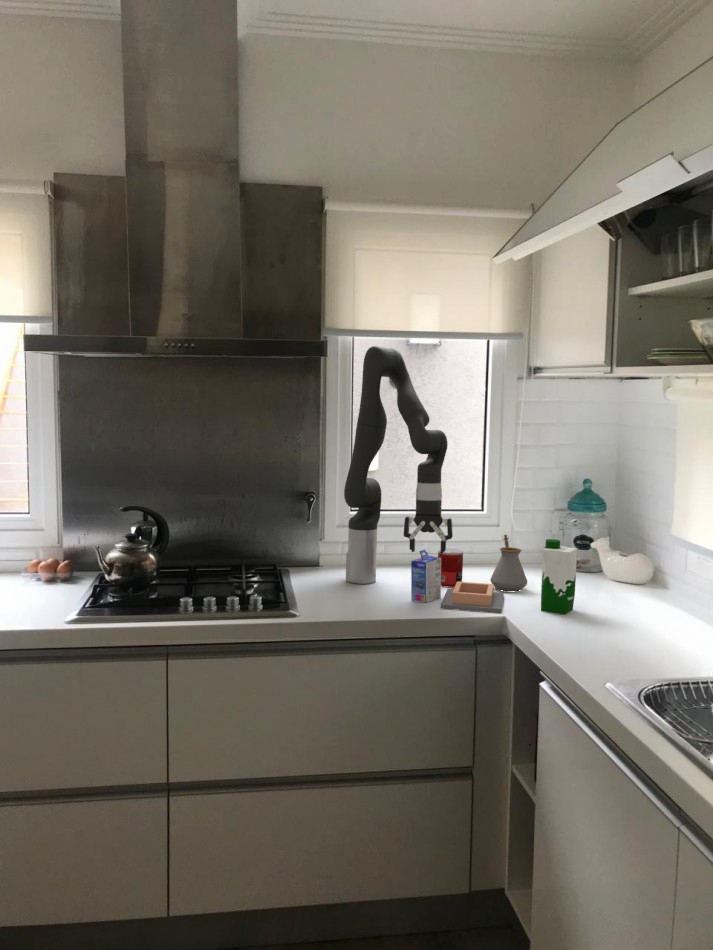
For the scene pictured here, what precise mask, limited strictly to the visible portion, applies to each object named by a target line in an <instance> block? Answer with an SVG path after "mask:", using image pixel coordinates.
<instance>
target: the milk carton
mask: <svg viewBox="0 0 713 950" xmlns="http://www.w3.org/2000/svg"><path fill="white" fill-rule="evenodd" d="M541 552H542V553H541V554H542V566H541V568H542V569H541V570H542V572H541V586H540V587H541V589H540V592H541V593H540V611H541V612H545V611H546V612H547V613H551V612H552V614H557V613H558V614H559V615H567V614H568V613H570V612H571V611H573V609H574V602H575V596H576V579H577V576H576V575H577V561H578V560H577V557H578V548H577V547H569V546H562V545H561V540H559V539H553V538H551V539H550V538H549V539H548V538H547V539H545V546H544V547H543V548H542V550H541ZM558 614H557V615H558Z"/></svg>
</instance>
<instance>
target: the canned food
mask: <svg viewBox="0 0 713 950" xmlns="http://www.w3.org/2000/svg"><path fill="white" fill-rule="evenodd" d="M437 551H438V552H437V557H441V585H442V586H441V587H444V586H448V587H447V588H455V585H456V583H457V581H458V582H463V571H464V570H463V568H464V567H463V566H464V564H463V563H464V550H461V549H457V548H446V550H445V552H443V554H441V553H440V552H441V548H439V549H438V550H437Z"/></svg>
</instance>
